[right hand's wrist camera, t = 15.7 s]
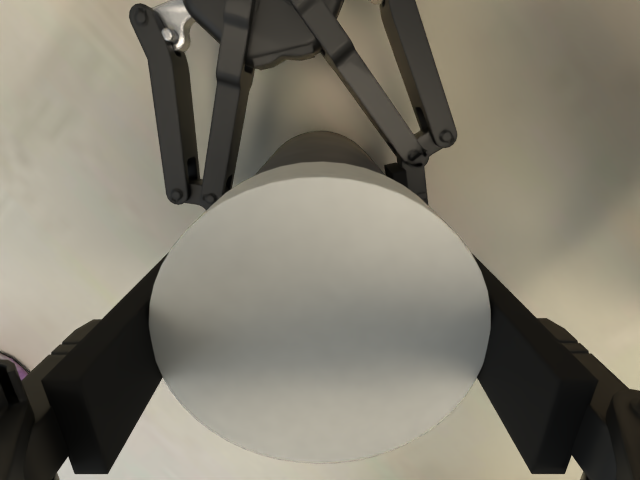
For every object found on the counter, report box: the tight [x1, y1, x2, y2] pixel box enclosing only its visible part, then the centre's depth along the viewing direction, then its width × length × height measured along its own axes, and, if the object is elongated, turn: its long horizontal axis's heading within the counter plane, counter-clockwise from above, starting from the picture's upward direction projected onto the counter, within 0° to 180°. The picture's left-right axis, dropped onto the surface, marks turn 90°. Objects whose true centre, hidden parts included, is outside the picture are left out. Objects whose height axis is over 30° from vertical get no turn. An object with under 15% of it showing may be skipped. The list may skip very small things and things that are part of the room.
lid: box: [149, 162, 491, 464], centre depth 11 cm, size 10×10×2 cm
